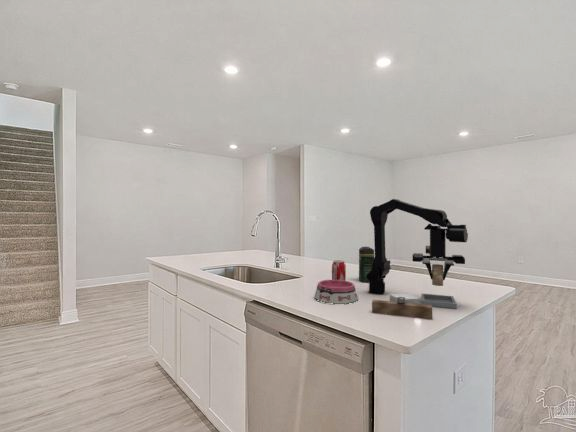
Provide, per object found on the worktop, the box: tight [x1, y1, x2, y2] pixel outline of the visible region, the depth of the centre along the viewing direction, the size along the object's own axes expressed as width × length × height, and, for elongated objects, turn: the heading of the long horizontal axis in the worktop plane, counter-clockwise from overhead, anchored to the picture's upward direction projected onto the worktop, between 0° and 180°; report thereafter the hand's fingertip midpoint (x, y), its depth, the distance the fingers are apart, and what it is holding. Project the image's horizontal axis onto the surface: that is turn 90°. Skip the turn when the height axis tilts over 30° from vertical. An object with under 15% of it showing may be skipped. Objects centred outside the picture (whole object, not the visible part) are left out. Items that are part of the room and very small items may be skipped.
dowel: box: [431, 263, 444, 287], centre depth 123 cm, size 4×4×8 cm
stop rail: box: [371, 297, 433, 320], centre depth 109 cm, size 20×3×6 cm, turn 67°
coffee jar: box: [358, 246, 375, 283], centre depth 167 cm, size 10×8×19 cm
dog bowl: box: [314, 279, 359, 305], centre depth 132 cm, size 18×19×7 cm
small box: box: [389, 293, 420, 304], centre depth 116 cm, size 8×8×5 cm
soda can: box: [331, 260, 347, 281], centre depth 158 cm, size 7×7×12 cm
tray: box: [420, 293, 457, 310], centre depth 123 cm, size 12×12×2 cm
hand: (437, 279), depth 123 cm, fingers closed on dowel, 4 cm apart
